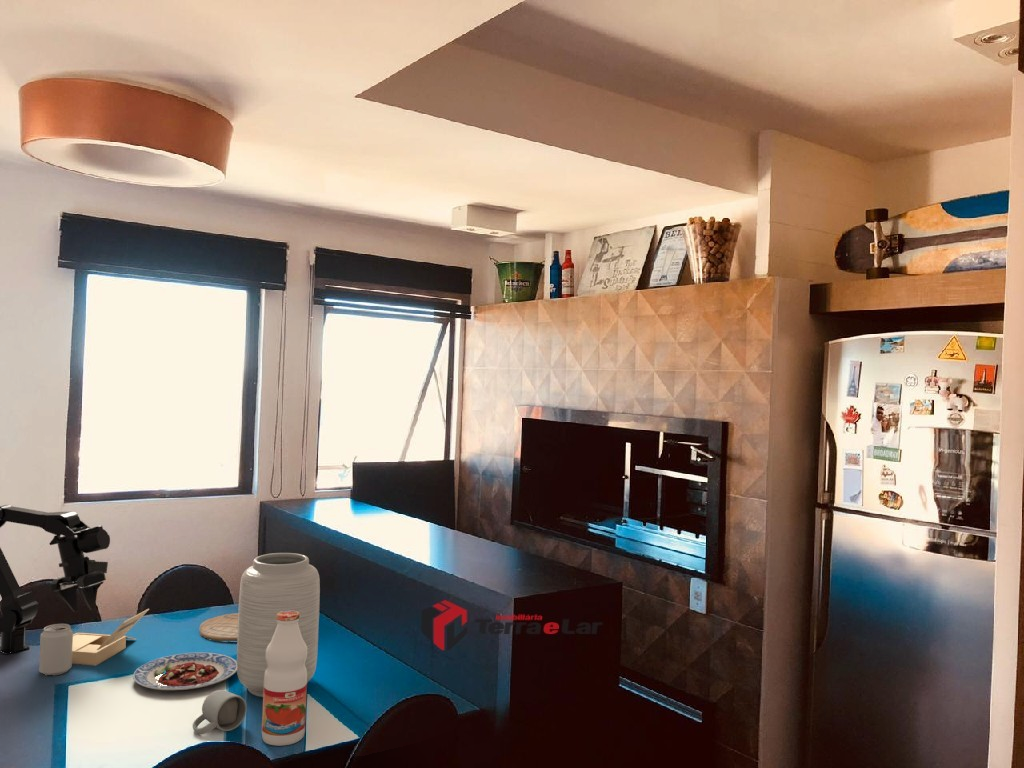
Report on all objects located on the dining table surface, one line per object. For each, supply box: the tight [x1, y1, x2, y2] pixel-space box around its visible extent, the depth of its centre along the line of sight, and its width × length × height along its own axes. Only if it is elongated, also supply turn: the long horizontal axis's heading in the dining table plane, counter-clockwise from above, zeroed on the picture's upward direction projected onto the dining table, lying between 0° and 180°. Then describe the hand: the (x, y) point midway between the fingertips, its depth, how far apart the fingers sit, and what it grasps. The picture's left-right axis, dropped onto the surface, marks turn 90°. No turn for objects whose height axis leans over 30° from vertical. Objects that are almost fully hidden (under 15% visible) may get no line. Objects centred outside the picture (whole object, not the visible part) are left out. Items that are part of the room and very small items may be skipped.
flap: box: [97, 608, 150, 650], centre depth 217 cm, size 1×12×11 cm
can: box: [38, 623, 74, 676], centre depth 206 cm, size 8×8×12 cm
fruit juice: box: [261, 610, 308, 747], centre depth 174 cm, size 9×9×28 cm
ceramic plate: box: [132, 652, 237, 691], centre depth 206 cm, size 26×26×3 cm
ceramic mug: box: [192, 689, 247, 735], centre depth 178 cm, size 11×8×8 cm
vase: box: [236, 552, 321, 698], centre depth 202 cm, size 20×20×34 cm
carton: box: [72, 632, 137, 667], centre depth 222 cm, size 15×21×4 cm
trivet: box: [198, 612, 239, 642], centre depth 245 cm, size 25×25×2 cm
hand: (84, 610), depth 219 cm, fingers open, 9 cm apart
